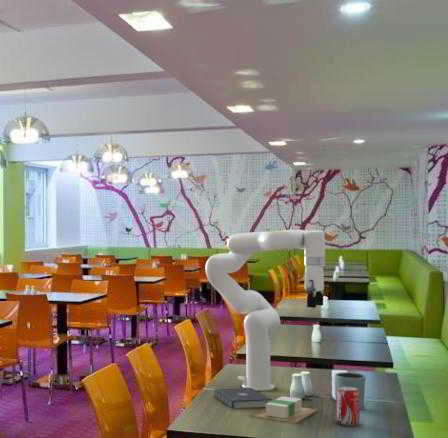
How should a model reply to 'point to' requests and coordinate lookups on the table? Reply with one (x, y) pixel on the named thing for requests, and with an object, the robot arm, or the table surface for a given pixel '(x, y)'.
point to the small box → (335, 382)
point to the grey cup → (353, 384)
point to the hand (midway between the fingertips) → (315, 306)
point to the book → (241, 398)
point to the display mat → (292, 418)
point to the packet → (283, 407)
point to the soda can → (348, 406)
